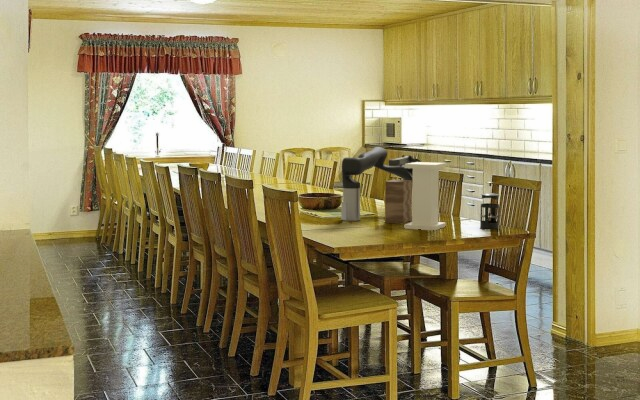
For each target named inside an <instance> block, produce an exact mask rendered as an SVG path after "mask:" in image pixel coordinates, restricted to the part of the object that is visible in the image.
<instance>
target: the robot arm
mask: <svg viewBox="0 0 640 400" xmlns="http://www.w3.org/2000/svg"><path fill="white" fill-rule="evenodd" d="M408 156H409V158H408V159H409V160H410V163H413V162H422V160H420V159H418V158H414V156H413V155H410V154H409V155H408ZM412 156H413V157H412ZM387 157H388V151H387V150H386V148H384V147H381V146H375V147H372V148H371V149H370V150H369V151H365V152H362V153H360V154H359V155H358V156H357V157H343V158H342V161H341V180H342V183H341V184H342V201H341V202H340V203H341V205H340V206H341V207H340V208H341V209H340V210H341V214H340V215H341V216H340V217H341V220H342V221H345V222H355V221H356V222H357V221H360V220H361V182H360V181H357V180H355V179H353V178H352V176H359V175H362V174H363V173H364V172H366V171H367V170H370V169H372V168H373V167H374V168H376V169H378V170H381V171H383V172H387V173H390V174H392V175H394V176H397V177H399V178H401V179H402V180H412V183H413V168H405V164H407V163H405V164H401V165H400V166H389V165H388V164H387V165H386V164H385V161H386V159H387ZM401 157H405V154H403V155H402V156H401Z"/></svg>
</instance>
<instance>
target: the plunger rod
mask: <svg viewBox="0 0 640 400" xmlns="http://www.w3.org/2000/svg"><path fill="white" fill-rule="evenodd" d="M404 156H405V155H404ZM411 156H412V157H413V158H414V155H411ZM408 158H409V155H407V156H405V157H402V156H401V157H397V158H389V159H388V161H387V162H388V166H400V165H401V164H405V163H410V160H409V159H408Z"/></svg>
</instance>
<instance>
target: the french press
mask: <svg viewBox="0 0 640 400" xmlns="http://www.w3.org/2000/svg"><path fill="white" fill-rule="evenodd" d="M485 183H486V184H488V186H489V192H486V193H481V194H480V195H481V199H493V200H499V196H500V194H499V193H491V191H492V190H491V187H492V184H495V181H487V182H485ZM483 209H484V214H483ZM496 211H497V212H496ZM499 215H500V204H499V203H493V202H492V203H491V202H489V203H488V202H486V203H480V223H479V224H480V226H479V229H480V230H485V229H496V230H499V229H500V216H499ZM483 218H484V220H483ZM489 219H490V220H489ZM498 228H499V229H498Z"/></svg>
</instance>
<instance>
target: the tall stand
mask: <svg viewBox="0 0 640 400" xmlns="http://www.w3.org/2000/svg"><path fill="white" fill-rule="evenodd" d="M447 165H448V164H447V162H433V161H432V162H431V161H429V162H427V161H426V162H425V161H421V162H418V161H417V162H413V163H407V164H405V168H413V183H412V221H410V222H407V223H404V224H403V225H404V226H403V229H404V228H405V229H404V230H418V229H421V230H420V231H433V230H434V232H435V231H437V230H440V228H441V229H443V228H445V226H446V225H447V223H446V222H445V221H444V222H442V221H441V222H440V221H439V191H440V190H439V187H440V186H439V185H440V184H439V183H440V182H439V181H440V178H439V177H440V172H439V170H440V169H444V168H447V167H448V166H447Z"/></svg>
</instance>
